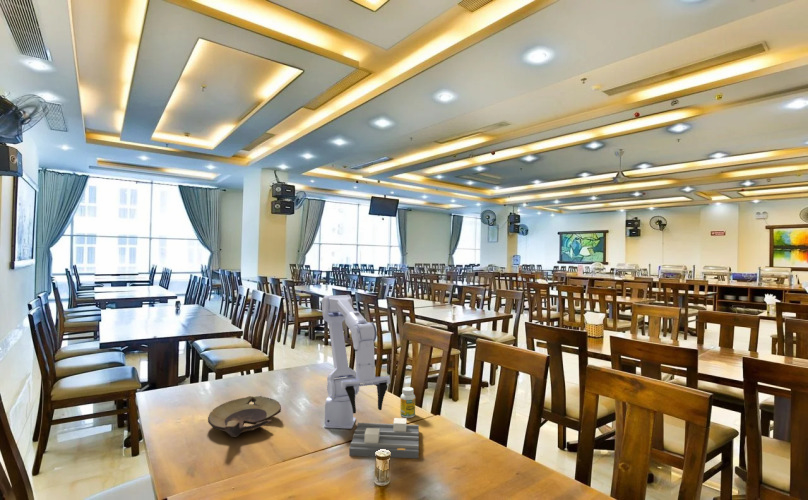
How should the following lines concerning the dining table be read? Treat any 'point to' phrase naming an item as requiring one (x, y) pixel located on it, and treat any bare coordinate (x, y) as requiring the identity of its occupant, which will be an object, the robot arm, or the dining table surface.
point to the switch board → (386, 441)
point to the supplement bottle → (407, 403)
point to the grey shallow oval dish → (243, 414)
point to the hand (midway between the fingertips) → (367, 410)
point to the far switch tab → (399, 424)
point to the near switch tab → (371, 435)
